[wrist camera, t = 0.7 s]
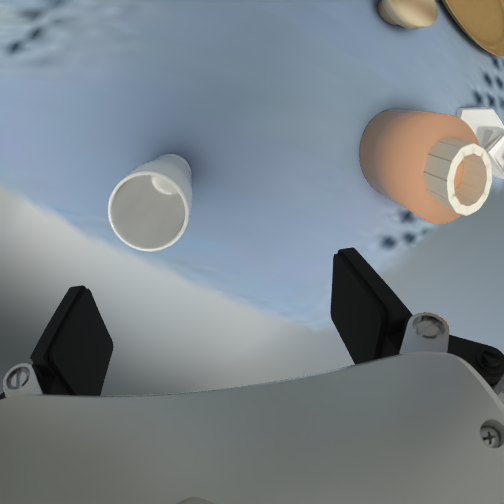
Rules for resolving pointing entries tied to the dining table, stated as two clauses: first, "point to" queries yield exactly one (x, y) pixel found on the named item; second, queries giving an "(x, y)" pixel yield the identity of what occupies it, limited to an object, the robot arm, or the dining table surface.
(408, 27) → the stopper
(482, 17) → the plant saucer
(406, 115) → the orange jar
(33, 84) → the dining table surface
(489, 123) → the soft serve ice cream
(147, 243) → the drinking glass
